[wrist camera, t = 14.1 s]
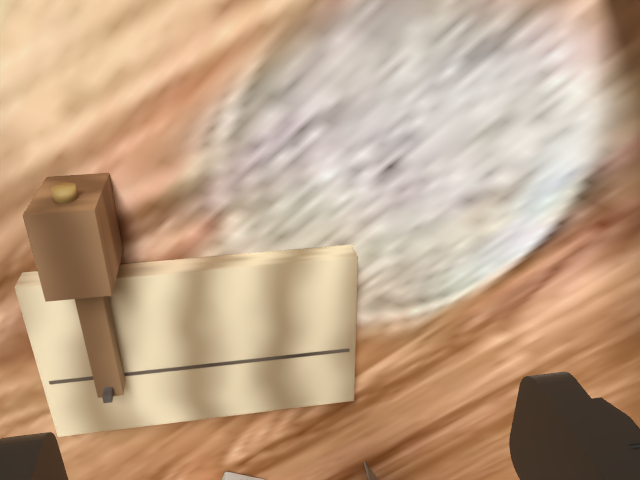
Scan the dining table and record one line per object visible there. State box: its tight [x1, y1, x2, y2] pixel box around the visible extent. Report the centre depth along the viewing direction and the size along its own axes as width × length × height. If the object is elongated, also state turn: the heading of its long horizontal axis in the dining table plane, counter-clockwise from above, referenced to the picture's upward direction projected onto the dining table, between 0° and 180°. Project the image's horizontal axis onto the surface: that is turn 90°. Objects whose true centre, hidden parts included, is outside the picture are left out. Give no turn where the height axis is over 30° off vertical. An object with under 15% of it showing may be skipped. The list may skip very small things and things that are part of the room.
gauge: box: [23, 173, 126, 403], centre depth 41 cm, size 4×17×6 cm, turn 1°
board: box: [15, 245, 358, 437], centre depth 47 cm, size 24×14×2 cm, turn 91°
